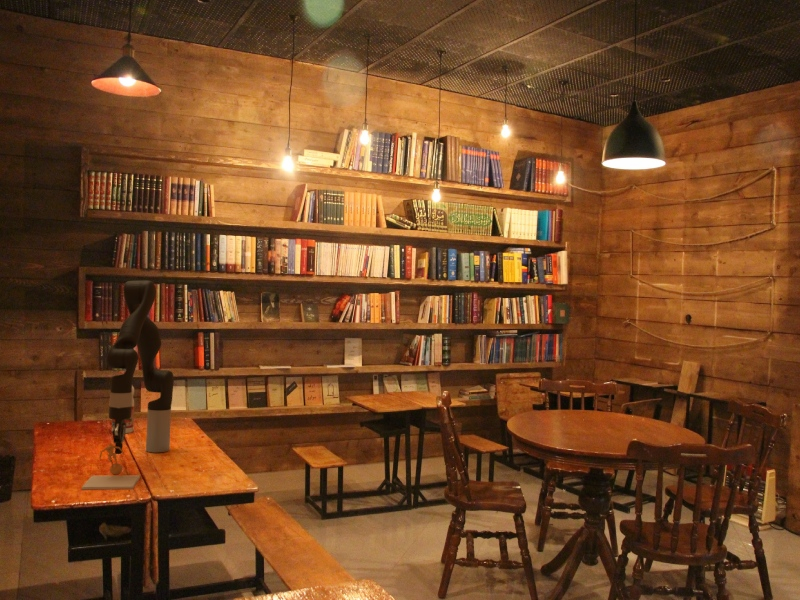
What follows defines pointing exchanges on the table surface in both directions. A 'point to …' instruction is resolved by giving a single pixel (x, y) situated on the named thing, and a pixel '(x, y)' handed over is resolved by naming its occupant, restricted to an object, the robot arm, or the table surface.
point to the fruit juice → (131, 420)
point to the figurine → (116, 467)
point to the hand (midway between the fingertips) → (118, 453)
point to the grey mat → (111, 482)
